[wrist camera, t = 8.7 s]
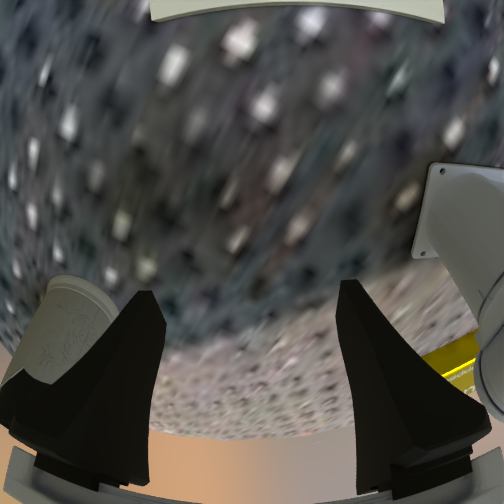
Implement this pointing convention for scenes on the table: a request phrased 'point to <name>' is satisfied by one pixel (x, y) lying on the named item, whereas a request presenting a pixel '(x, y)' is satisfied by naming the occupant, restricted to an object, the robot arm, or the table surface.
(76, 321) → the glass holder
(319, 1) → the socket board
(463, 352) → the element tile
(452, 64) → the table surface
